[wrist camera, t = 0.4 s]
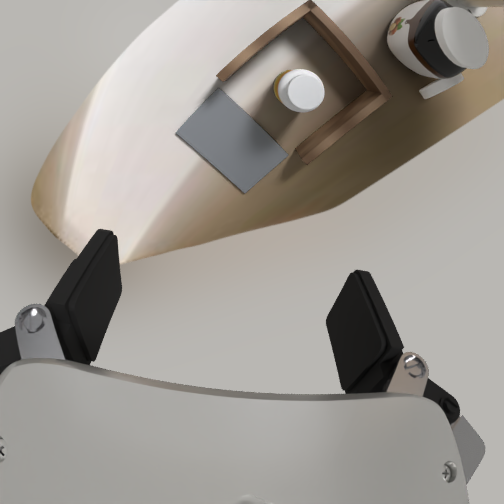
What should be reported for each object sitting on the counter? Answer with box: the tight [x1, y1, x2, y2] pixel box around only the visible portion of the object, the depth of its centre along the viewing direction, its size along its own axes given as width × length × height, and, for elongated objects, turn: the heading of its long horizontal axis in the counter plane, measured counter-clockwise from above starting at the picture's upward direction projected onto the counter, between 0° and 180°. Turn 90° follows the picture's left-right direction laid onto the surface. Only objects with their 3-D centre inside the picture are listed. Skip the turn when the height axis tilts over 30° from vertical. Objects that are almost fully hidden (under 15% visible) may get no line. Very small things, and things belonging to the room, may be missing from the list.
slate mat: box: [176, 88, 288, 193], centre depth 33 cm, size 8×12×1 cm, turn 44°
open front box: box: [216, 0, 393, 165], centre depth 27 cm, size 13×14×4 cm
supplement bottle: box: [273, 69, 324, 112], centre depth 26 cm, size 5×5×8 cm
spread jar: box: [387, 0, 489, 99], centre depth 20 cm, size 12×11×12 cm
